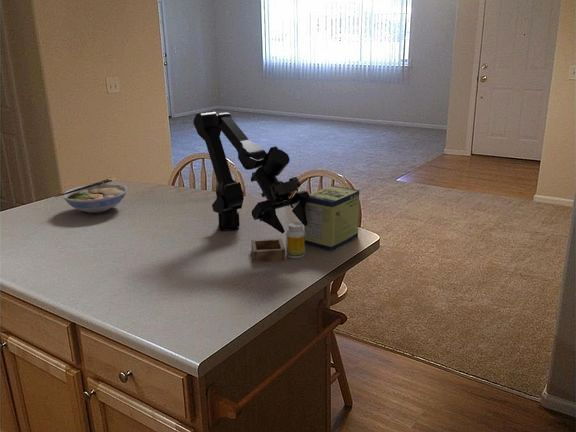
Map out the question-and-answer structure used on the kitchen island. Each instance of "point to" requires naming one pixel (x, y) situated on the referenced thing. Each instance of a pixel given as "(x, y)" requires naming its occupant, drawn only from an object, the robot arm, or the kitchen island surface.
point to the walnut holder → (268, 250)
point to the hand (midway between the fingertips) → (295, 229)
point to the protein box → (331, 217)
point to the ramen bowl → (95, 196)
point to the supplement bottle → (295, 240)
